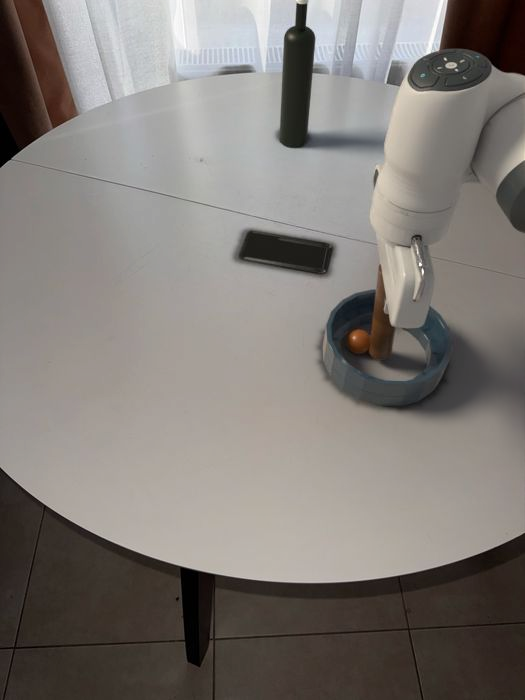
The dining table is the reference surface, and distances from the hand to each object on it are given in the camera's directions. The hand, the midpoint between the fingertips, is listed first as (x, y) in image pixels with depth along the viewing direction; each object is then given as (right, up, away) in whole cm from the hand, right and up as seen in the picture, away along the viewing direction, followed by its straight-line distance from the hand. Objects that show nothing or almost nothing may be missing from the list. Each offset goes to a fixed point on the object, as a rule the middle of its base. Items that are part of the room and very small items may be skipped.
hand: (387, 296), depth 75 cm
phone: (-12, +9, +24) cm, 29 cm away
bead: (-2, -6, +10) cm, 11 cm away
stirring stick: (+1, -7, +8) cm, 11 cm away
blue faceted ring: (+1, -8, +11) cm, 14 cm away
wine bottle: (-10, +37, +47) cm, 61 cm away
